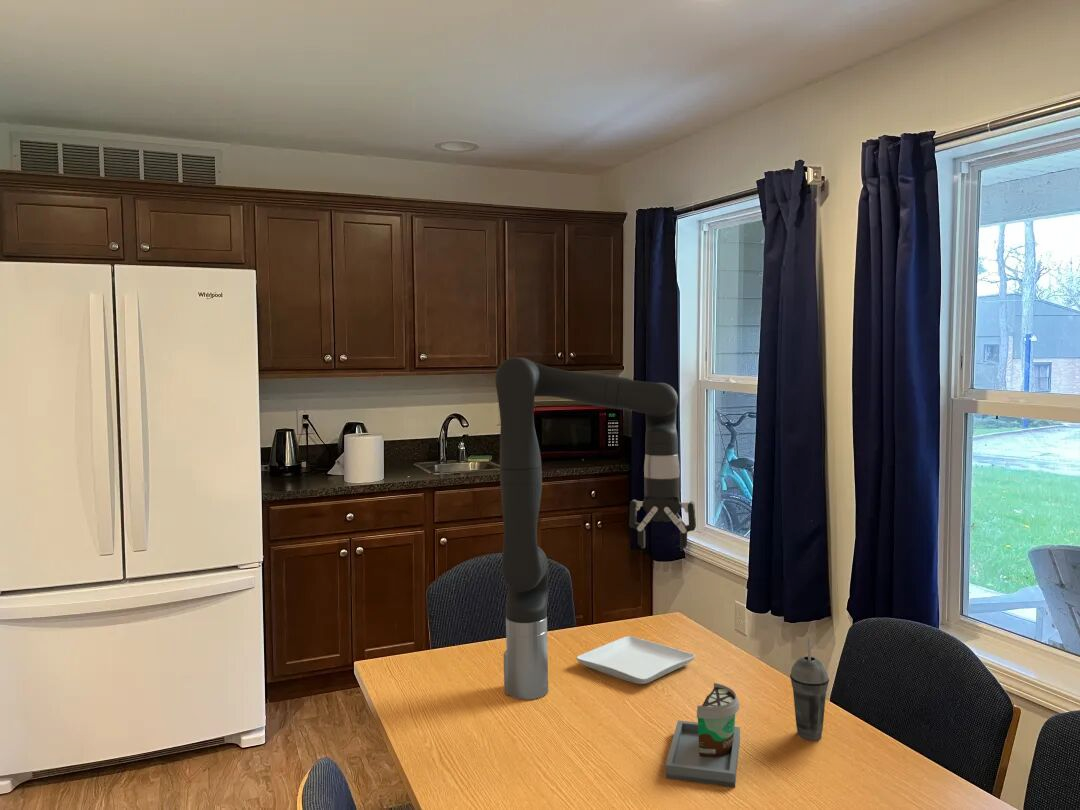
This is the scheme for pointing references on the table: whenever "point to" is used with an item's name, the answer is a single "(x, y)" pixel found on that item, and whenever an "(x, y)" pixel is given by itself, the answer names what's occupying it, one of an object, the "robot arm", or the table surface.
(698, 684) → the table surface
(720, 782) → the tray
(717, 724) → the food container
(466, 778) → the table surface
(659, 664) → the salad plate
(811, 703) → the beverage cup
